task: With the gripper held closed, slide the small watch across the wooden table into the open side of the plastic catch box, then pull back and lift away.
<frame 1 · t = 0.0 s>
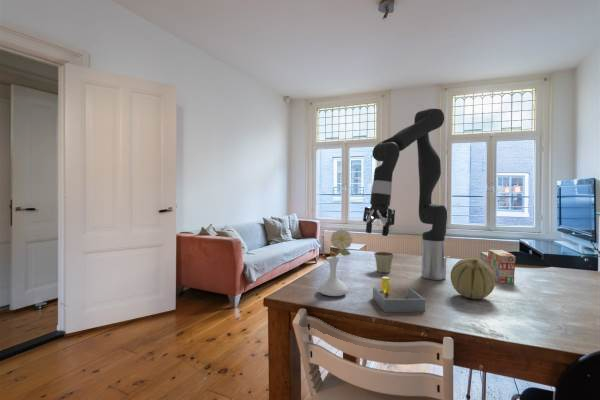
hand: (376, 234, 120), 22 cm above the table, tool pointing down, fingers open, 8 cm apart
catch box: (397, 303, 108), on the table
printed cardboard carton: (495, 277, 142), on the table
flower pot: (383, 271, 150), on the table
watch: (385, 292, 120), on the table
cantaloupe: (471, 298, 114), on the table
flower in vase: (335, 294, 117), on the table
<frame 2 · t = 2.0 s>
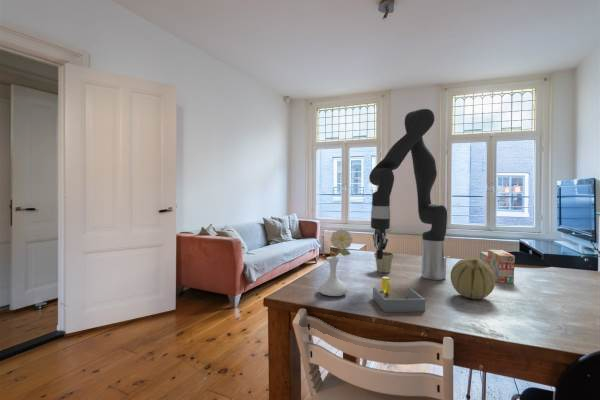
hand: (379, 258, 127), 11 cm above the table, tool pointing down, fingers closed
nothing on the table moved.
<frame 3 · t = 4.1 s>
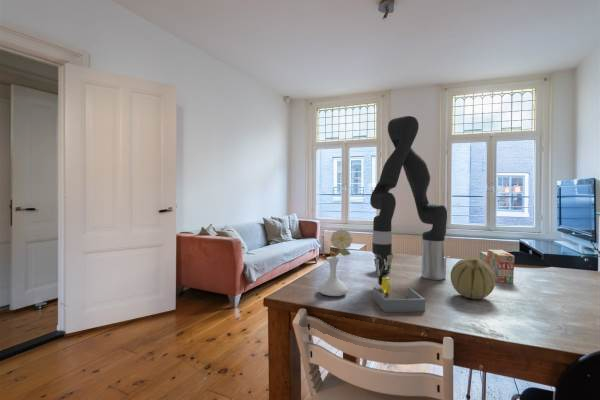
hand: (381, 284, 124), 2 cm above the table, tool pointing down, fingers closed
watch: (385, 292, 120), on the table, touching gripper
everything else where it was.
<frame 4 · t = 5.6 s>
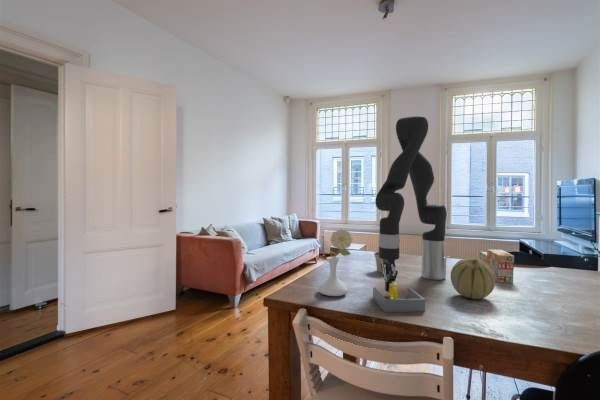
hand: (388, 291, 116), 2 cm above the table, tool pointing down, fingers closed
watch: (393, 300, 111), resting in catch box, touching gripper
everything else where it was.
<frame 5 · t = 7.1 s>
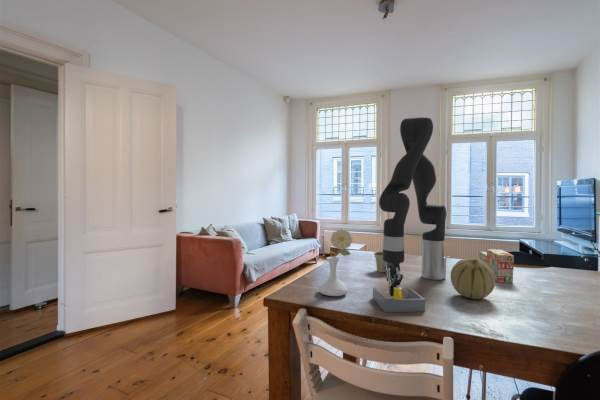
hand: (392, 295, 112), 1 cm above the table, tool pointing down, fingers closed
watch: (397, 305, 107), resting in catch box, touching gripper
everything else where it was.
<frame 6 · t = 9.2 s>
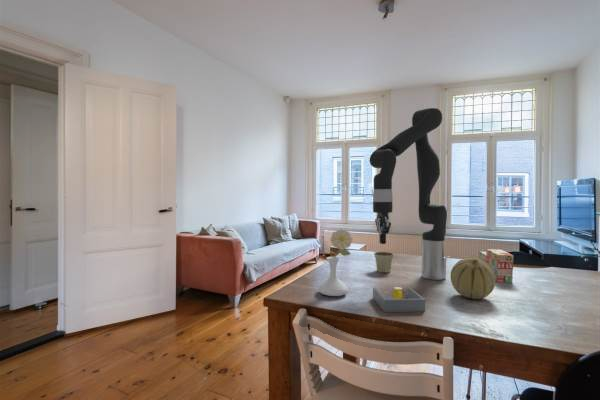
hand: (382, 243, 124), 18 cm above the table, tool pointing down, fingers closed
watch: (397, 305, 107), resting in catch box
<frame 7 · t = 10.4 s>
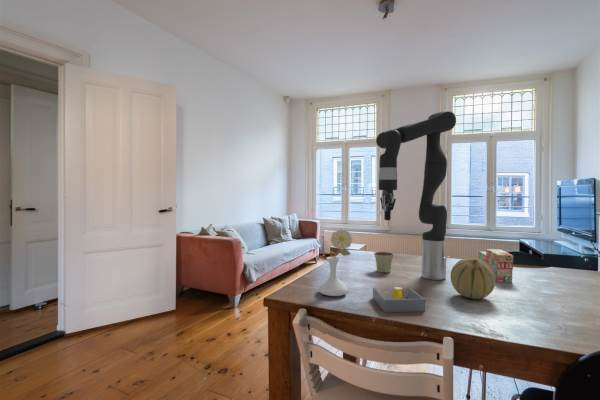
hand: (387, 220, 130), 27 cm above the table, tool pointing down, fingers closed
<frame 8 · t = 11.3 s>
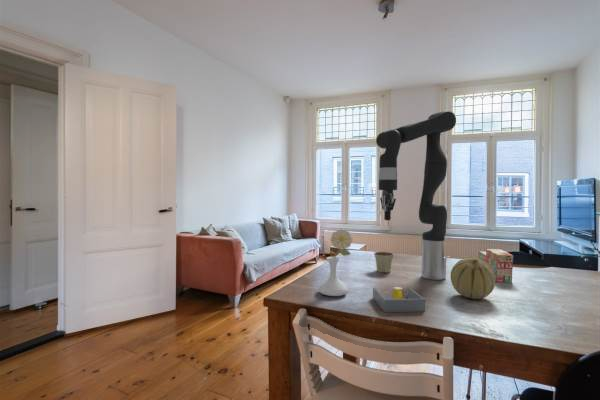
hand: (387, 220, 130), 27 cm above the table, tool pointing down, fingers closed
at the end: watch inside the target area on the catch box (0.6 cm from its centre), point 0.0 cm above the catch box's base; watch tilted 0° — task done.
